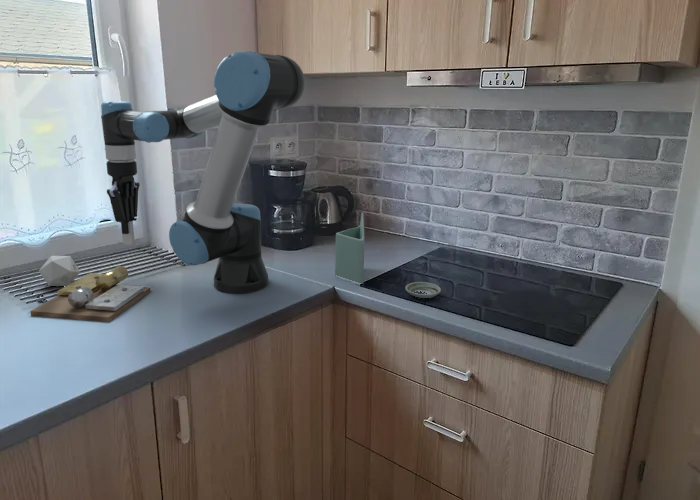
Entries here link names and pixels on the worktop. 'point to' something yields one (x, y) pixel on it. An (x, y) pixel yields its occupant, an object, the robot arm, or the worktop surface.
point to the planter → (350, 253)
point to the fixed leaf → (104, 297)
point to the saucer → (423, 289)
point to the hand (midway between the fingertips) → (128, 243)
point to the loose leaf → (97, 281)
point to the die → (59, 271)
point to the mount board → (82, 308)
